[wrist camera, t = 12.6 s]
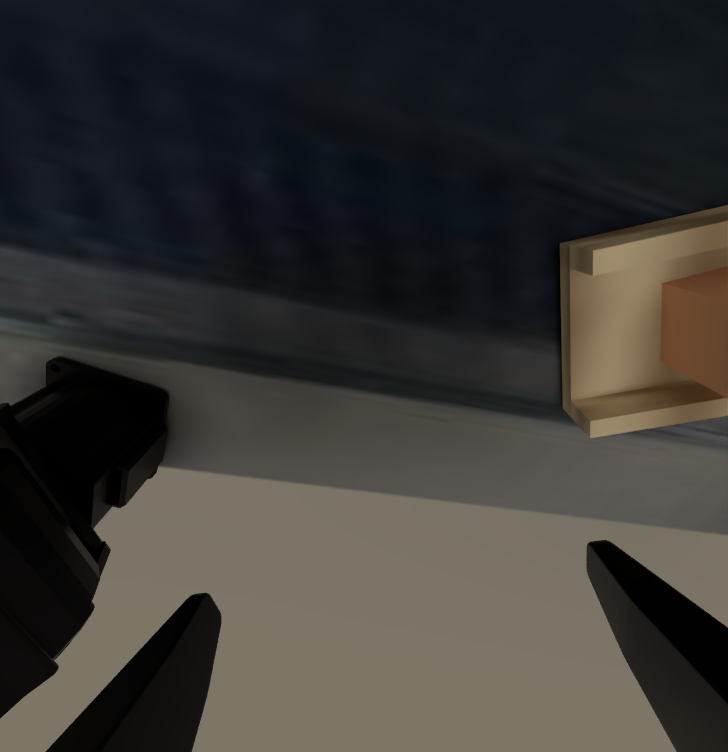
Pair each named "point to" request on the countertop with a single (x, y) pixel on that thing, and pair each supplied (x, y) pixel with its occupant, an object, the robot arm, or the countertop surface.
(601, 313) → the cradle
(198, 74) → the countertop surface
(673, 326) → the orange rectangular block
